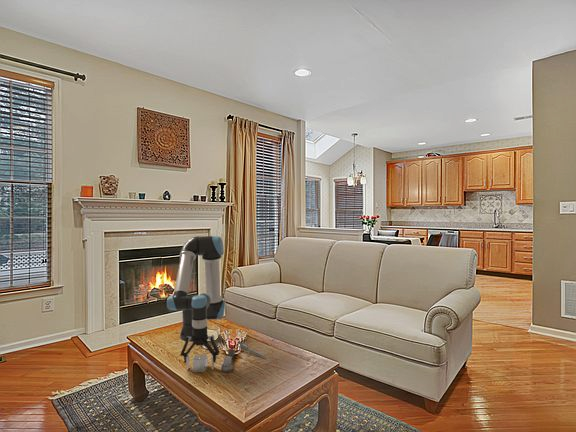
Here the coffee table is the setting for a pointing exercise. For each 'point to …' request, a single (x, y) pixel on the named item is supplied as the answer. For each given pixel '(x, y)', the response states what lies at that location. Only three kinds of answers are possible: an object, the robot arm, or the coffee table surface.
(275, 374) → the coffee table surface
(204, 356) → the socket
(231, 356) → the ratchet
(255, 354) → the caliper
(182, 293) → the robot arm
